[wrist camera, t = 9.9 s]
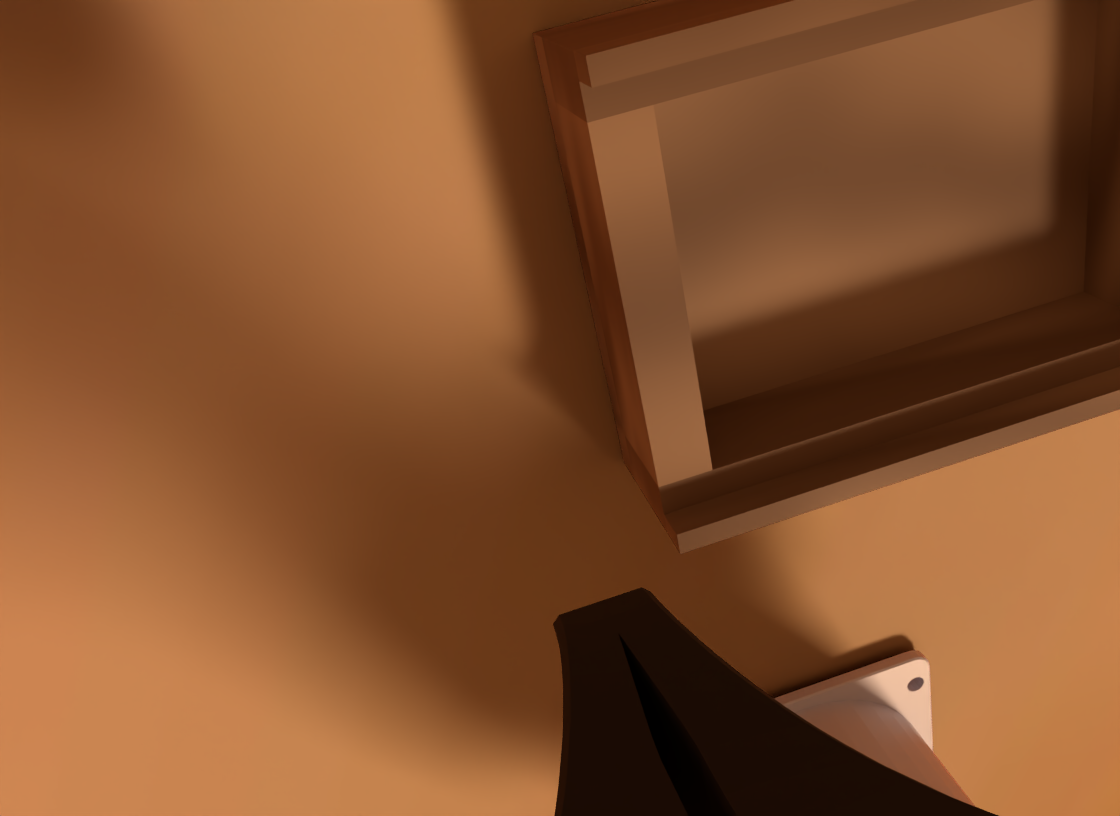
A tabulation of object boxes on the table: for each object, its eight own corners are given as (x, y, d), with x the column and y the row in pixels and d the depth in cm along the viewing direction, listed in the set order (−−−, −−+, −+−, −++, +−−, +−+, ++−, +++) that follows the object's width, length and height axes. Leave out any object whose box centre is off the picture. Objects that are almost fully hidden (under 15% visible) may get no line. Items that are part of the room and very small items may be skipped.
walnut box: (1100, 311, 25) (1231, 372, 22) (624, 462, 24) (680, 554, 20) (1126, -123, 20) (1298, -134, 17) (532, 33, 19) (585, 55, 15)
